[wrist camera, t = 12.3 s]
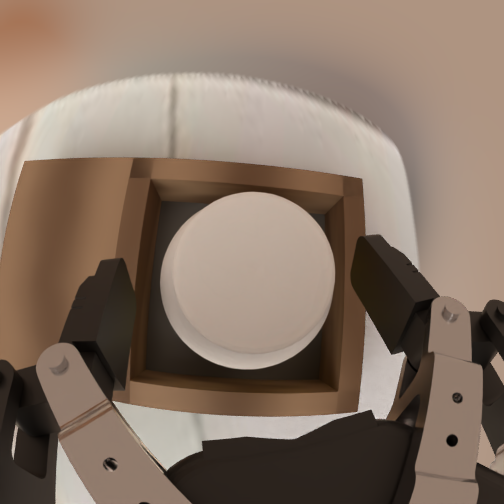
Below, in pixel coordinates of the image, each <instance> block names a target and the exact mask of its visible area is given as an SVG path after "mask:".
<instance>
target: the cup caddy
mask: <svg viewBox="0 0 504 504" xmlns="http://www.w3.org/2000/svg"><path fill="white" fill-rule="evenodd" d="M243 192H262V193H269V194H274V195H277V196H280V197H283V198H285V199H287V200H289V201H291V202H293V203H295V204H297V205H298V206H300V207H301V208H302V209H304V210H305V211H306V212H307V213H308V214H309V215H310V216H311V217H312V218H313V219H314V220H315V221H316V222H317V223H318V225H319V226H320V227H321V228H322V230H323V232H324V234H325V235H326V237H327V240H328V242H329V244H330V247H331V250H332V253H333V257H334V263H335V284H334V290H333V297H332V302H331V306H330V309H329V313H328V315H327V317H326V320H325V322H324V324H323V326H322V327H321V329H320V331H319V332H318V333H317V335H316V336H315V338H314V339H313V340H312V341H311V342H310V343H309V344H308V345H307V346H306V347H305V348H304V349H303V350H301V351H300V352H299V353H297V354H296V355H294V356H293V357H291V358H289V359H287V360H285V361H283V362H281V363H279V364H276V365H273V366H269V367H265V368H259V369H235V368H229V367H225V366H222V365H218V364H216V363H213V362H211V361H209V360H207V359H205V358H203V357H202V356H200V355H199V354H197V353H196V352H194V351H193V350H192V349H191V348H189V347H188V345H186V344H185V343H184V342H183V341H182V339H181V338H180V337H179V336H178V334H177V333H176V332H175V330H174V329H173V327H172V325H171V324H170V321H169V319H168V317H167V315H166V312H165V309H164V306H163V302H162V297H161V290H160V277H161V268H162V263H163V259H164V256H165V253H166V251H167V248H168V246H169V244H170V242H171V241H172V239H173V237H174V236H175V234H176V233H177V231H178V230H179V229H180V228H181V226H182V225H183V224H184V223H185V222H186V221H187V220H188V219H189V218H191V217H192V216H193V215H194V214H196V213H197V212H199V211H200V210H202V209H203V208H205V207H206V206H208V205H210V204H211V203H213V202H214V201H216V200H218V199H221V198H223V197H226V196H229V195H232V194H237V193H243ZM360 236H365V213H364V196H363V183H362V179H360V178H354V177H348V176H342V175H336V174H329V173H322V172H315V171H308V170H301V169H293V168H284V167H276V166H267V165H257V164H246V163H235V162H222V161H208V160H191V159H169V158H70V159H49V160H34V161H25V162H24V165H23V168H22V171H21V174H20V177H19V181H18V184H17V187H16V191H15V195H14V198H13V202H12V206H11V210H10V214H9V219H8V223H7V228H6V233H5V238H4V243H3V249H2V255H1V262H0V360H1V359H2V360H6V361H8V362H9V363H10V364H11V365H12V366H13V367H14V369H15V370H19V369H23V368H26V367H30V366H34V365H37V361H38V359H39V357H40V355H41V354H42V353H43V352H44V351H45V350H46V349H47V348H49V347H50V346H52V345H54V344H58V342H59V339H60V336H61V333H62V330H63V328H64V325H65V322H66V319H67V317H68V314H69V311H70V309H71V306H72V303H73V301H74V300H75V296H76V293H77V291H78V288H79V286H80V285H81V284H82V283H83V282H84V281H85V280H86V278H87V277H88V276H94V275H95V273H96V270H97V268H98V265H99V263H100V261H101V260H105V259H114V258H123V259H124V261H125V263H126V266H127V270H128V273H129V276H130V280H131V283H132V286H133V289H134V293H135V297H136V316H135V321H134V327H133V334H132V340H131V347H130V354H129V361H128V369H127V377H126V386H125V391H113V397H112V401H116V402H122V403H127V404H132V405H138V406H144V407H151V408H157V409H165V410H172V411H181V412H190V413H201V414H214V415H230V416H264V417H277V416H311V415H328V414H340V413H351V412H357V411H358V403H359V395H360V385H361V375H362V364H363V350H364V334H365V312H366V309H365V307H364V306H363V304H362V302H361V301H360V299H359V297H358V296H357V294H356V292H355V291H354V289H353V287H352V284H351V279H350V272H351V267H352V262H353V257H354V252H355V247H356V242H357V239H358V238H359V237H360Z"/></svg>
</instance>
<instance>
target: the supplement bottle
mask: <svg viewBox="0 0 504 504" xmlns="http://www.w3.org/2000/svg"><path fill="white" fill-rule="evenodd" d="M334 284H335V263H334V257H333V253H332V250H331V247H330V244H329V242H328V240H327V237H326V235H325V234H324V232H323V230H322V228H321V227H320V226H319V225H318V223H317V222H316V221H315V220H314V219H313V218H312V217H311V216H310V215H309V214H308V213H307V212H306V211H305V210H304V209H302V208H301V207H300V206H298V205H297V204H295V203H293V202H291V201H289V200H287V199H285V198H283V197H280V196H277V195H274V194H269V193H262V192H243V193H237V194H232V195H229V196H226V197H223V198H221V199H218V200H216V201H214V202H213V203H211V204H210V205H208V206H206V207H205V208H203V209H202V210H200V211H199V212H197V213H196V214H194V215H193V216H192V217H191V218H189V219H188V220H187V221H186V222H185V223H184V224H183V225H182V226H181V228H180V229H179V230H178V231H177V233H176V234H175V236H174V237H173V239H172V241H171V242H170V244H169V246H168V248H167V251H166V253H165V256H164V259H163V263H162V268H161V277H160V290H161V297H162V302H163V306H164V309H165V312H166V315H167V317H168V319H169V321H170V324H171V325H172V327H173V329H174V330H175V332H176V333H177V334H178V336H179V337H180V338H181V339H182V341H183V342H184V343H185V344H186V345H188V347H189V348H191V349H192V350H193V351H194V352H196V353H197V354H199V355H200V356H202V357H203V358H205V359H207V360H209V361H211V362H213V363H216V364H218V365H222V366H225V367H229V368H235V369H259V368H265V367H269V366H273V365H276V364H279V363H281V362H283V361H285V360H287V359H289V358H291V357H293V356H294V355H296V354H297V353H299V352H300V351H301V350H303V349H304V348H305V347H306V346H307V345H308V344H309V343H310V342H311V341H312V340H313V339H314V338H315V336H316V335H317V333H318V332H319V331H320V329H321V327H322V326H323V324H324V322H325V320H326V317H327V315H328V313H329V309H330V306H331V302H332V297H333V290H334Z"/></svg>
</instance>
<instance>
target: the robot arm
mask: <svg viewBox="0 0 504 504" xmlns="http://www.w3.org/2000/svg"><path fill="white" fill-rule="evenodd" d="M350 279H351V284H352V287H353V289H354V291H355V292H356V294H357V296H358V297H359V299H360V301H361V302H362V304H363V306H364V307H365V309H366V311H367V313H368V314H369V316H370V318H371V319H372V321H373V323H374V325H375V326H376V328H377V330H378V332H379V333H380V335H381V337H382V339H383V341H384V342H385V344H386V346H387V348H388V350H389V351H390V353H391V355H392V354H396V353H399V352H403V351H404V353H405V354H406V356H405V358H404V360H403V364H402V368H401V373H400V378H399V382H398V386H397V390H396V395H395V398H394V402H393V405H392V408H391V410H390V412H389V414H388V416H387V418H386V419H375V417H374V415H373V413H372V410H368V411H365V412H362V413H358V414H355V415H351V416H348V417H344V418H340V419H336V420H333V421H331V422H329V423H327V424H325V425H324V426H322V427H320V428H318V429H316V430H314V431H311V432H309V433H307V434H305V435H303V436H301V437H299V438H296V439H290V440H288V439H269V438H255V437H240V438H231V439H220V440H208V441H202V446H203V451H201V452H198V453H195V454H192V455H190V456H188V457H186V458H184V459H182V460H180V461H179V462H177V463H176V464H174V465H173V466H172V467H170V468H169V469H168V470H166V469H165V467H164V466H163V465H162V464H161V463H160V462H159V461H158V460H157V458H156V457H155V456H154V455H153V454H152V453H151V452H150V451H149V449H148V448H147V447H146V446H145V445H144V443H143V442H142V441H141V440H140V438H139V437H138V436H137V435H136V433H135V432H134V431H133V429H132V428H131V427H130V425H129V424H128V423H127V421H126V420H125V419H124V417H123V416H122V414H121V413H120V412H119V410H118V409H117V407H116V406H115V405H114V403H113V402H112V397H113V391H125V386H126V377H127V369H128V361H129V354H130V347H131V340H132V334H133V327H134V321H135V316H136V297H135V293H134V289H133V286H132V283H131V280H130V276H129V273H128V270H127V266H126V263H125V261H124V259H123V258H114V259H105V260H101V261H100V263H99V265H98V268H97V270H96V273H95V275H94V276H88V277H87V278H86V280H85V281H84V282H83V283H82V284H81V285H80V286H79V288H78V291H77V293H76V296H75V300H74V301H73V303H72V306H71V309H70V311H69V314H68V317H67V319H66V322H65V325H64V328H63V330H62V333H61V336H60V339H59V342H58V344H54V345H52V346H50V347H49V348H47V349H46V350H45V351H44V352H43V353H42V354H41V355H40V357H39V359H38V361H37V365H34V366H30V367H26V368H23V369H19V370H15V369H14V367H13V366H12V365H11V364H10V363H9V362H8V361H6V360H2V359H1V360H0V504H55V485H56V461H57V447H58V439H59V441H60V443H61V445H62V447H63V449H64V451H65V453H66V455H67V457H68V458H69V460H70V462H71V464H72V466H73V467H74V469H75V471H76V472H77V474H78V476H79V477H80V479H81V481H82V482H83V484H84V485H85V487H86V489H87V490H88V492H89V493H90V495H91V496H92V498H93V499H94V501H95V502H96V504H504V385H503V383H502V381H501V380H500V378H499V376H498V375H497V373H496V371H495V370H494V368H493V366H492V365H491V363H490V362H491V361H492V359H493V358H494V357H495V355H496V354H497V352H499V354H500V355H501V357H502V359H503V360H504V302H502V301H499V300H490V301H489V302H488V303H487V304H486V306H485V308H484V310H483V312H471V311H468V310H467V309H466V307H465V306H464V305H463V304H462V303H461V302H459V301H457V300H456V299H454V298H451V297H445V296H444V297H440V296H439V295H438V294H437V292H436V291H435V290H434V289H433V287H432V286H431V285H430V284H429V283H428V281H427V280H426V279H425V278H424V277H423V275H422V274H421V273H420V272H418V270H417V268H416V267H415V266H414V265H412V263H411V261H410V260H409V259H408V258H407V257H406V256H405V255H404V254H403V253H401V252H400V251H398V250H397V249H395V248H394V247H391V246H390V245H389V244H388V243H387V242H386V240H385V239H384V238H383V237H382V236H381V235H367V236H360V237H359V238H358V239H357V242H356V247H355V252H354V257H353V262H352V267H351V272H350ZM481 424H482V426H483V428H484V430H485V432H486V435H487V437H488V439H489V442H490V444H491V447H492V449H493V451H494V454H495V461H493V462H492V463H491V465H490V469H489V468H487V467H485V466H483V465H481V464H479V463H477V456H478V449H479V440H480V429H481ZM15 425H16V426H18V432H17V438H16V445H15V453H14V460H13V457H12V451H11V450H12V442H13V436H14V429H15Z"/></svg>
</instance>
